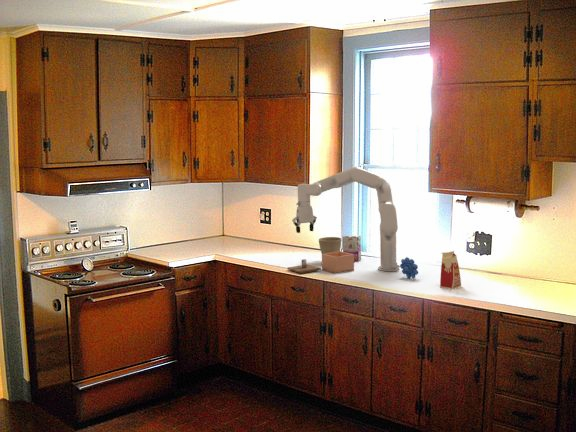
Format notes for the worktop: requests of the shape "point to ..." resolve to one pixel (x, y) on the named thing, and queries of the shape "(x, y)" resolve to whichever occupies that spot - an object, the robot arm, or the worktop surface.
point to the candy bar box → (352, 246)
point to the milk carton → (450, 271)
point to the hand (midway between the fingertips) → (304, 231)
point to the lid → (304, 268)
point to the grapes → (409, 267)
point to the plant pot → (330, 244)
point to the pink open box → (338, 262)
